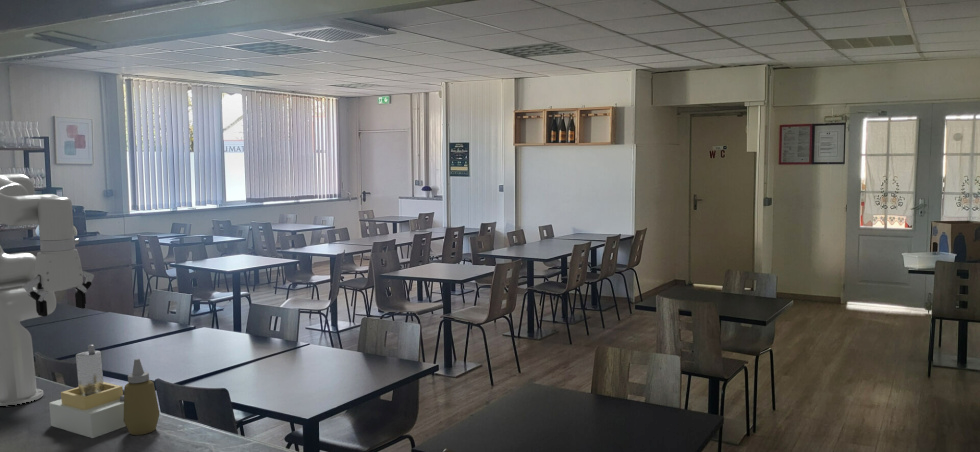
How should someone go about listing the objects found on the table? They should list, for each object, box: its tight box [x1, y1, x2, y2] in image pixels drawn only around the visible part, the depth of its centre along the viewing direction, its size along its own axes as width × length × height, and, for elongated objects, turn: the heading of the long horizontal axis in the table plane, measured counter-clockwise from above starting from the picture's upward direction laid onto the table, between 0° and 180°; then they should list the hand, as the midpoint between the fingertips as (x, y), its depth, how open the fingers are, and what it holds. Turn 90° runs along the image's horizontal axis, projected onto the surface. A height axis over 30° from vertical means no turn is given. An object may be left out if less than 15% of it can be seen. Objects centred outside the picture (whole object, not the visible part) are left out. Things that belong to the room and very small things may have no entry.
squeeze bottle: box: [123, 358, 161, 436], centre depth 180 cm, size 8×8×18 cm
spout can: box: [75, 343, 104, 396], centre depth 186 cm, size 6×6×14 cm
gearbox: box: [48, 381, 126, 439], centre depth 187 cm, size 18×12×9 cm, turn 59°
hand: (62, 311), depth 189 cm, fingers open, 9 cm apart
